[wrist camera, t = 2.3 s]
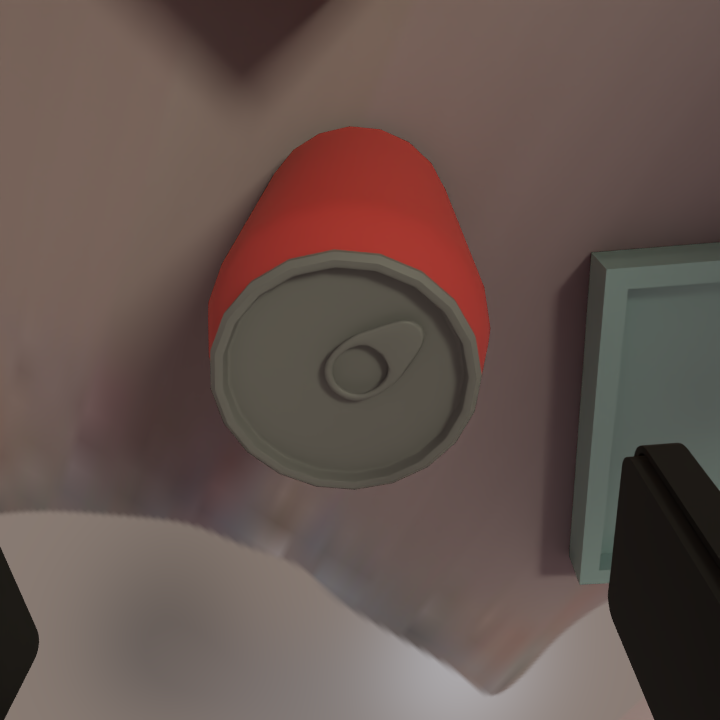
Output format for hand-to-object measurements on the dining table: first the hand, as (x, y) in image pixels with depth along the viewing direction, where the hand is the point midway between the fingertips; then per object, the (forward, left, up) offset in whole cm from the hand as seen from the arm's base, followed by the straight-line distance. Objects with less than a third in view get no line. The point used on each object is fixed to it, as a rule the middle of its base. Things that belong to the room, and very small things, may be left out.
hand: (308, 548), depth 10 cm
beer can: (0, 0, -17) cm, 17 cm away
